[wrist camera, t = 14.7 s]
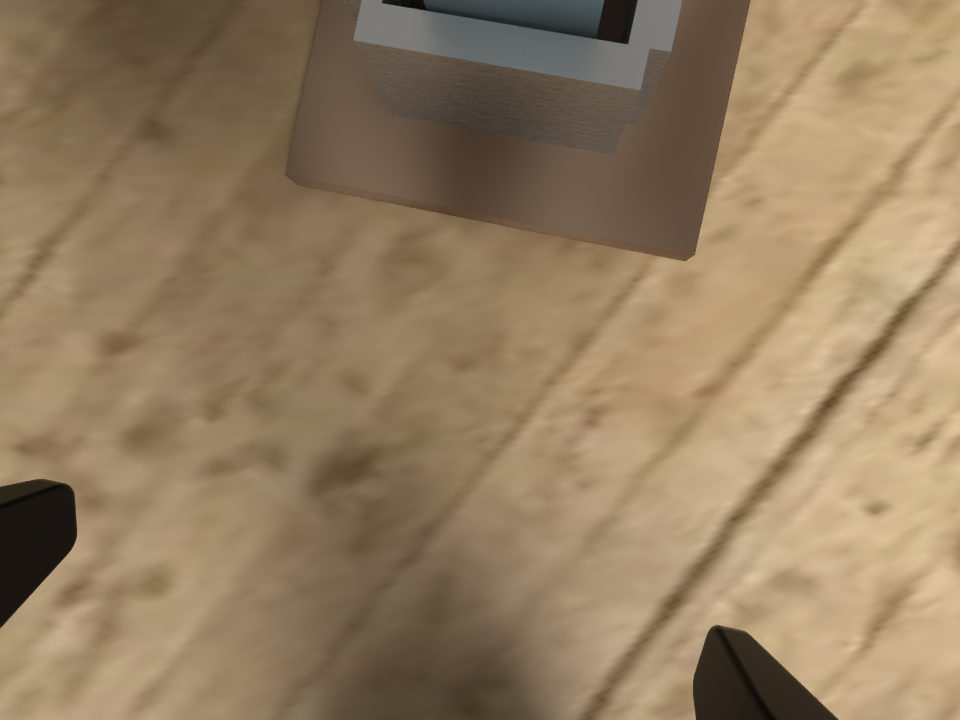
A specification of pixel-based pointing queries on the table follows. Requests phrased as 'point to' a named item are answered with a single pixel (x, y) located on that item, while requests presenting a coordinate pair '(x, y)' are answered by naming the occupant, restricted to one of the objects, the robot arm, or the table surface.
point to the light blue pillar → (529, 13)
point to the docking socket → (524, 117)
